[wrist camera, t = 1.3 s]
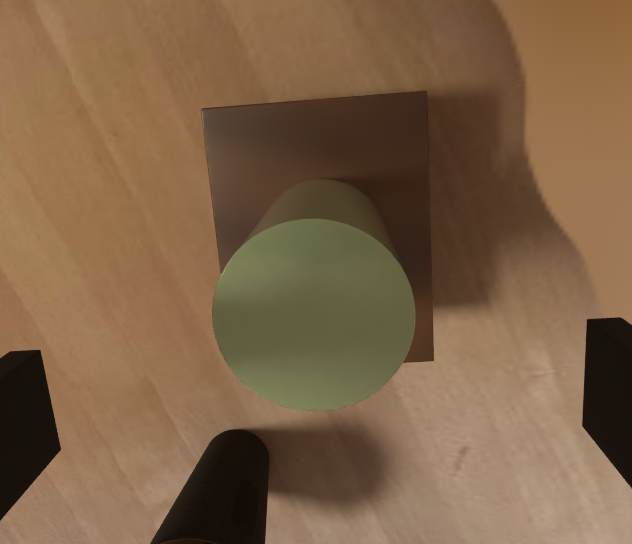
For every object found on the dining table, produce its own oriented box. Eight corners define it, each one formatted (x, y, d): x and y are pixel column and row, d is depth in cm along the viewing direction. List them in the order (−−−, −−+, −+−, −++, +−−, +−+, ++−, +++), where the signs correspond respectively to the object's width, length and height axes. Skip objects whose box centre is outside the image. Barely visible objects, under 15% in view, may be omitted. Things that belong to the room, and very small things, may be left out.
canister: (255, 183, 29) (199, 226, 17) (382, 174, 29) (412, 211, 17) (267, 304, 31) (223, 416, 19) (388, 296, 30) (419, 407, 19)
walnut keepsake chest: (233, 110, 37) (200, 108, 28) (406, 97, 36) (427, 90, 28) (255, 317, 40) (232, 372, 32) (413, 308, 40) (434, 361, 31)
